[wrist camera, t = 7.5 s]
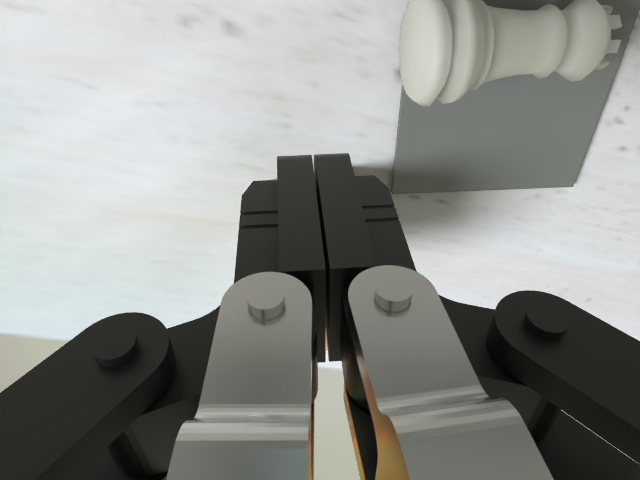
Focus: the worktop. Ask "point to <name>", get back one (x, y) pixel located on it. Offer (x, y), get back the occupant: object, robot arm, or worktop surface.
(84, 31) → the worktop surface
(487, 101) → the mat
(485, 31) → the rook chess piece
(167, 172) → the worktop surface
